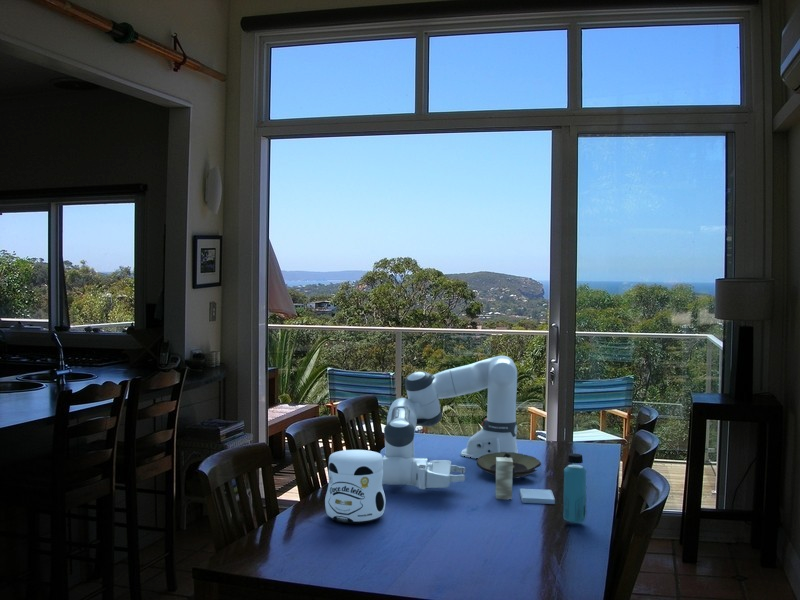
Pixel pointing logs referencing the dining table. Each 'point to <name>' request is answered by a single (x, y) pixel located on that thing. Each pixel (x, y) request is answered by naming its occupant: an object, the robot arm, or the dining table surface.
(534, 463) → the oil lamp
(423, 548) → the dining table surface
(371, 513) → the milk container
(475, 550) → the dining table surface
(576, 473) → the beverage bottle
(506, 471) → the maple block
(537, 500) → the white square slab
